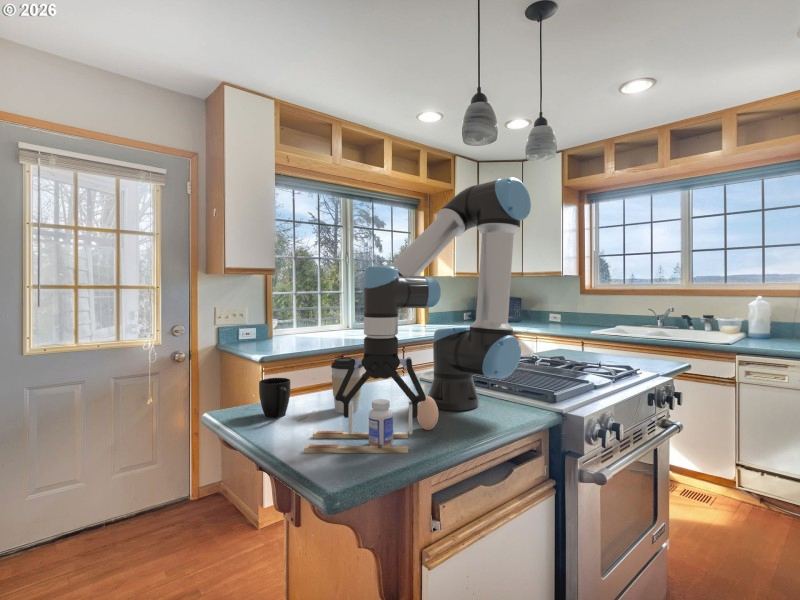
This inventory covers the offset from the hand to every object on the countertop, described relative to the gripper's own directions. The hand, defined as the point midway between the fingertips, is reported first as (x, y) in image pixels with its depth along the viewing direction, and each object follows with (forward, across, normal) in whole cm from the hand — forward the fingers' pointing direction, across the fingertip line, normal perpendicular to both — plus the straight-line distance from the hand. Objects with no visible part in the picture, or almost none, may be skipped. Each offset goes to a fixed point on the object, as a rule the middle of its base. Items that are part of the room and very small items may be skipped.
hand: (380, 432), depth 95 cm
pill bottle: (+3, 0, 0) cm, 3 cm away
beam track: (+3, +5, 0) cm, 6 cm away
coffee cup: (+3, +11, -27) cm, 29 cm away
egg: (+3, -11, -10) cm, 15 cm away
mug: (+3, +29, -20) cm, 35 cm away
